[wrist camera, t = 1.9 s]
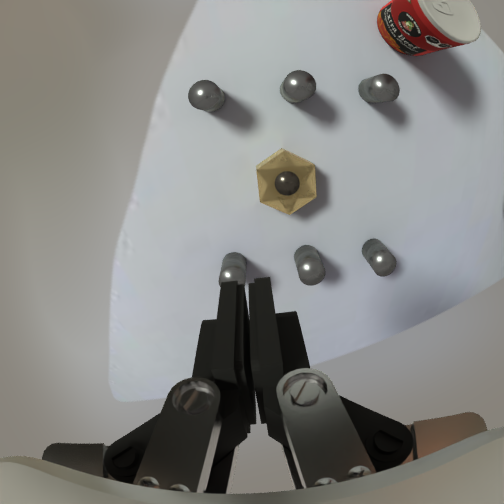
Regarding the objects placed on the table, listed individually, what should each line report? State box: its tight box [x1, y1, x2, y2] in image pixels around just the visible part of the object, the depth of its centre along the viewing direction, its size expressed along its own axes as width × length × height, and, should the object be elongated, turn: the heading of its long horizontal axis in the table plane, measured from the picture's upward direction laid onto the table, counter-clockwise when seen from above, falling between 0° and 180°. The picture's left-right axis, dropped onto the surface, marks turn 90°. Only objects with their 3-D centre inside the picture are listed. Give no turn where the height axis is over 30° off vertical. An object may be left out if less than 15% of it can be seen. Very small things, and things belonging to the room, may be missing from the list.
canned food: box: [377, 0, 481, 56], centre depth 17 cm, size 8×8×11 cm
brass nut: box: [256, 148, 316, 215], centre depth 30 cm, size 7×6×3 cm
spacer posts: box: [188, 70, 400, 287], centre depth 29 cm, size 21×23×4 cm
